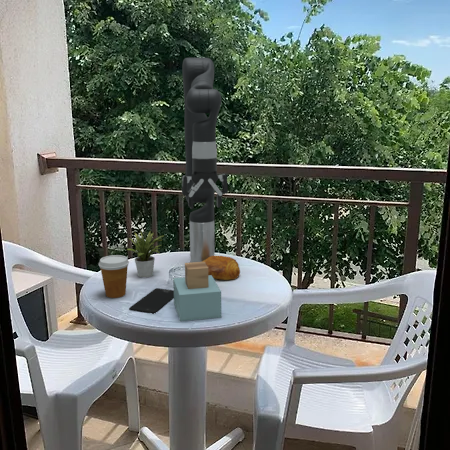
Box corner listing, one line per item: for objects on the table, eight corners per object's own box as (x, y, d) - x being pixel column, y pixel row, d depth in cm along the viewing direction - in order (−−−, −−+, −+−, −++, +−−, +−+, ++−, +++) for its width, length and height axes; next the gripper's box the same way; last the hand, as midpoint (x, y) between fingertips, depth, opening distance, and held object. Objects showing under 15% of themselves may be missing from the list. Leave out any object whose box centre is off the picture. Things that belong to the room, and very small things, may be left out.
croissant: (227, 290, 174) (229, 269, 171) (190, 276, 182) (192, 255, 179) (248, 277, 186) (250, 257, 183) (213, 264, 193) (215, 244, 191)
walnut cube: (185, 281, 153) (184, 262, 151) (204, 280, 154) (204, 261, 153) (188, 289, 147) (187, 269, 146) (208, 287, 148) (208, 267, 147)
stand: (173, 302, 158) (173, 278, 156) (211, 299, 160) (211, 275, 158) (180, 321, 145) (179, 295, 143) (221, 317, 147) (221, 291, 145)
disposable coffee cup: (101, 301, 159) (98, 265, 156) (100, 290, 168) (97, 256, 165) (132, 298, 161) (130, 262, 158) (129, 287, 170) (127, 253, 167)
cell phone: (180, 293, 166) (180, 291, 166) (154, 315, 150) (154, 312, 149) (156, 290, 169) (156, 287, 169) (128, 311, 153) (128, 308, 152)
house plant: (162, 283, 174) (161, 237, 170) (122, 283, 174) (120, 237, 170) (168, 269, 188) (166, 227, 184) (131, 269, 188) (128, 226, 184)
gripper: (224, 154, 161) (224, 204, 165) (179, 155, 158) (180, 206, 162) (229, 157, 154) (229, 209, 158) (183, 158, 151) (184, 211, 155)
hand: (205, 207), depth 160 cm, fingers open, 8 cm apart
